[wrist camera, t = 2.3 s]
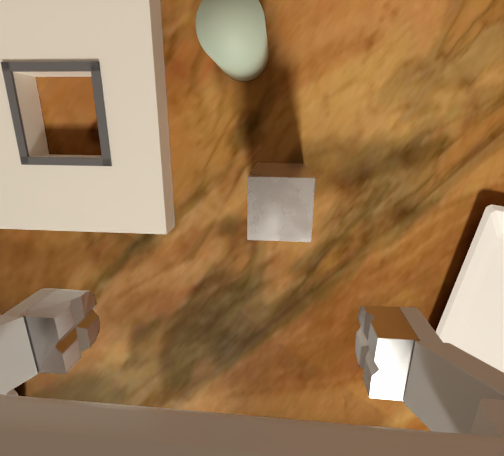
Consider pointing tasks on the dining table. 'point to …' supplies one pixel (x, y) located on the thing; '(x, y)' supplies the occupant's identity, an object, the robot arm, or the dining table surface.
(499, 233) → the plate
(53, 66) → the socket board
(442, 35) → the dining table surface
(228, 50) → the round peg
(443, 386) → the robot arm
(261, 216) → the square peg
